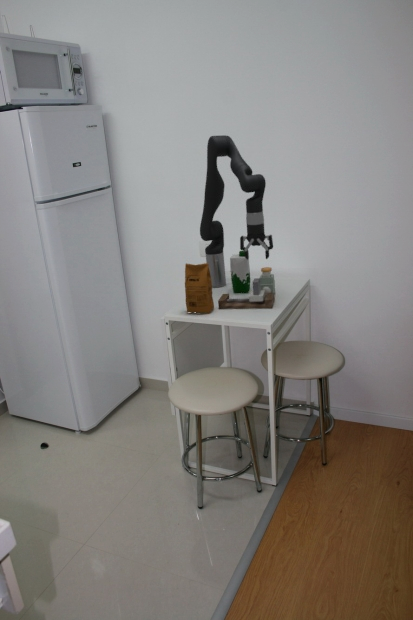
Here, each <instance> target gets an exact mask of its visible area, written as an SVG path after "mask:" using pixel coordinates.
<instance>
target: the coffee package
mask: <svg viewBox="0 0 413 620" xmlns="http://www.w3.org/2000/svg"><path fill="white" fill-rule="evenodd" d="M184 265H185V267H184V270H185V271H184V288H185V289H184V291H185V304H186V305H185V306H186V312H196V313H207V314H211V313H212V311H213V309H215V304H214V297H213V287H212V279H211V275H210V270H209V264H208V263H206V262H204V263H200V264H192V263H185V264H184ZM210 312H211V313H210ZM196 313H195V314H196Z"/></svg>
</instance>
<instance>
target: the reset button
mask: <svg viewBox="0 0 413 620" xmlns="http://www.w3.org/2000/svg"><path fill="white" fill-rule="evenodd" d="M260 270H261V273H262V274H261V275H262V276H263V277H271V274H272V270H273V269H272V267H269V266H268V267H267V266H266V267H262V268H260Z"/></svg>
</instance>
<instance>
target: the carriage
mask: <svg viewBox="0 0 413 620" xmlns="http://www.w3.org/2000/svg"><path fill="white" fill-rule="evenodd" d="M248 298H249V302H252V301H263V300H264V298H265V290H261V288H260V277H258V278H254V279H253V281H252V290H251V291H250V293H249V295H248Z"/></svg>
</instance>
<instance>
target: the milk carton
mask: <svg viewBox="0 0 413 620" xmlns="http://www.w3.org/2000/svg"><path fill="white" fill-rule="evenodd" d="M229 264H230V277H231V278H230V279H231V285H232V286H231V287H232V290H233V294H237V295H239V294H249V292H250V290H251V272H250V271H251V270H250V258H249V259H246V258H245V251H244V250H239V251H238V253H236V254H232V255H231V257H230V258H229Z"/></svg>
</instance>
